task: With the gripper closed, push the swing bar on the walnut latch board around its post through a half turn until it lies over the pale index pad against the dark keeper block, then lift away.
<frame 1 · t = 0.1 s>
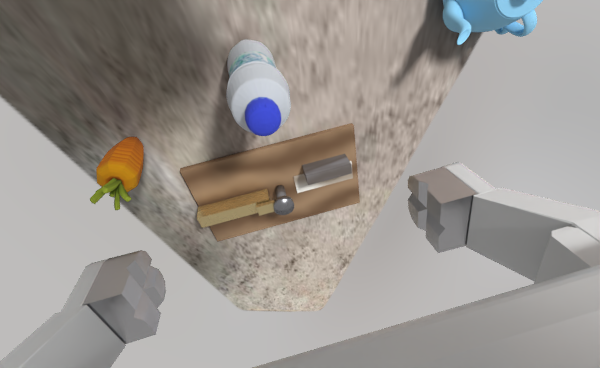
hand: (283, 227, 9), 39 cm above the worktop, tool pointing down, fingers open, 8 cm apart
bottle: (249, 60, 43), on the worktop
carrot: (135, 138, 47), on the worktop
latch board: (278, 185, 58), on the worktop
swing bar: (246, 208, 54), point 4 cm above the worktop, hinge at 0.0°
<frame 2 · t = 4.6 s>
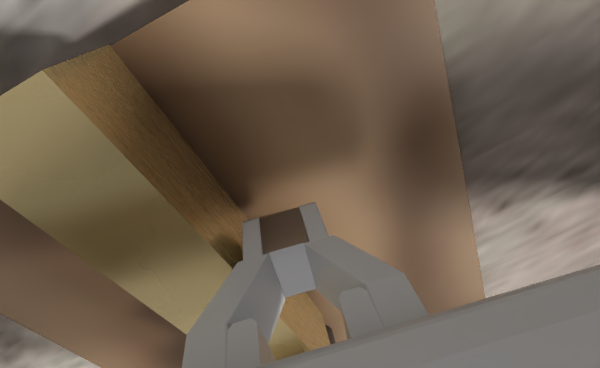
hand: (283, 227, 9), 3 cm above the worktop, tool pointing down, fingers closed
latch board: (311, 318, 17), on the worktop
swing bar: (252, 325, 10), point 4 cm above the worktop, hinge at 1.0°, touching gripper
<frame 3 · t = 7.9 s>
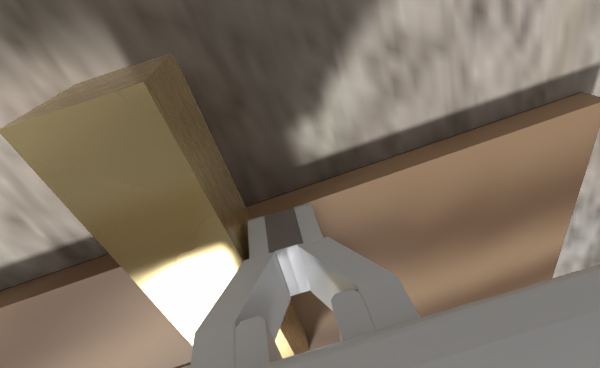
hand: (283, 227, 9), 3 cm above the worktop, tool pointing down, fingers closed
latch board: (288, 334, 17), on the worktop
swing bar: (251, 340, 10), point 4 cm above the worktop, hinge at 90.0°, touching gripper
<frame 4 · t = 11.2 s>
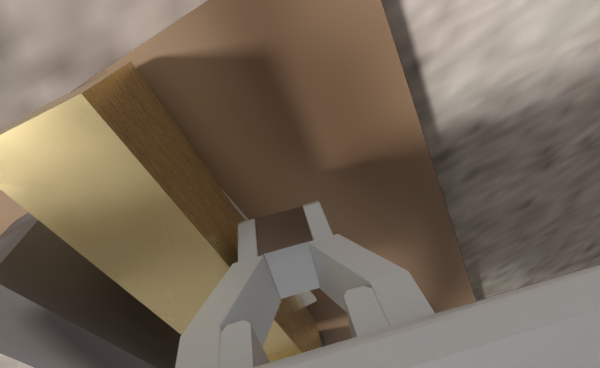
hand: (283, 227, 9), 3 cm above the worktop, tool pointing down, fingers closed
latch board: (304, 325, 17), on the worktop
swing bar: (252, 333, 10), point 4 cm above the worktop, hinge at 174.7°, touching gripper
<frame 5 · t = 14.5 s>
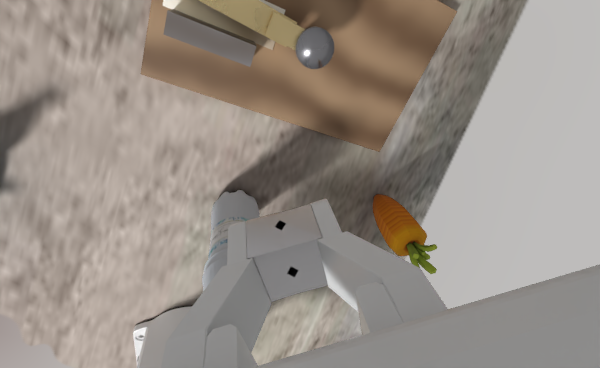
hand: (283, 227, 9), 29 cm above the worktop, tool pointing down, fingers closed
bottle: (235, 203, 43), on the worktop
carrot: (375, 194, 47), on the worktop
latch board: (302, 40, 34), on the worktop
swing bar: (248, 10, 28), point 4 cm above the worktop, hinge at 174.7°
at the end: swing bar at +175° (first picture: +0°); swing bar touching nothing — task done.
